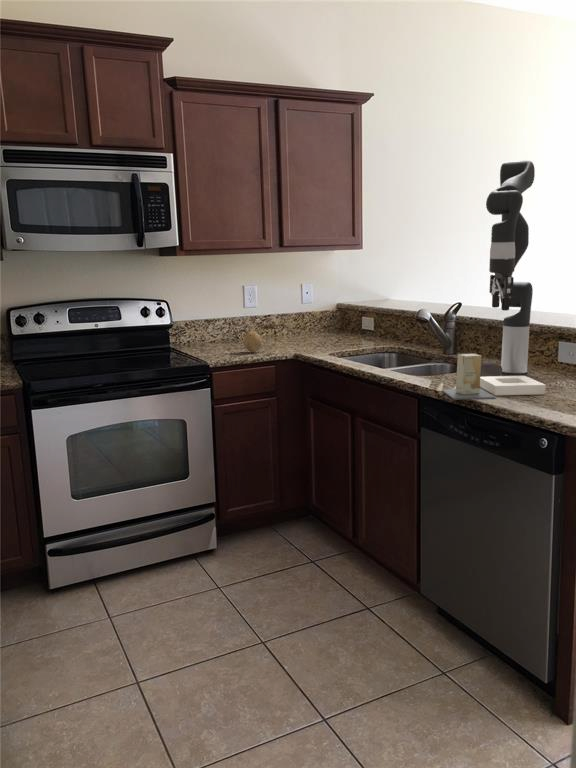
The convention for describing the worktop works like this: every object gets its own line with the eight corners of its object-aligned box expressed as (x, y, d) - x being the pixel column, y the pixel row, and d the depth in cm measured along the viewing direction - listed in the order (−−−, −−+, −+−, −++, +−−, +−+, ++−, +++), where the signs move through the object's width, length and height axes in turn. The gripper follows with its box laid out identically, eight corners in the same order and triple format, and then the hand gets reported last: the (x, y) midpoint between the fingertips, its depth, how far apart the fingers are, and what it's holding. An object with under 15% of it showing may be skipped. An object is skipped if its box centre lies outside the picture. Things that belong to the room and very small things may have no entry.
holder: (477, 385, 219) (478, 376, 219) (524, 384, 220) (524, 375, 220) (494, 395, 204) (495, 385, 203) (545, 394, 205) (545, 384, 204)
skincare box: (463, 395, 202) (464, 356, 200) (455, 392, 206) (456, 354, 204) (480, 393, 205) (482, 354, 202) (472, 390, 209) (473, 353, 206)
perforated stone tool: (497, 378, 233) (498, 358, 231) (507, 380, 228) (508, 360, 227) (462, 381, 227) (462, 361, 226) (471, 384, 222) (472, 364, 221)
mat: (441, 391, 211) (441, 389, 211) (480, 390, 212) (481, 388, 212) (453, 399, 199) (453, 398, 199) (495, 398, 199) (495, 396, 199)
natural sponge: (238, 352, 302) (238, 331, 301) (253, 350, 308) (253, 329, 306) (250, 354, 296) (250, 332, 294) (265, 352, 301) (265, 331, 300)
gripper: (482, 256, 211) (481, 306, 214) (498, 258, 197) (496, 311, 200) (505, 256, 211) (503, 306, 215) (523, 257, 197) (520, 310, 201)
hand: (500, 308), depth 208 cm, fingers open, 8 cm apart
